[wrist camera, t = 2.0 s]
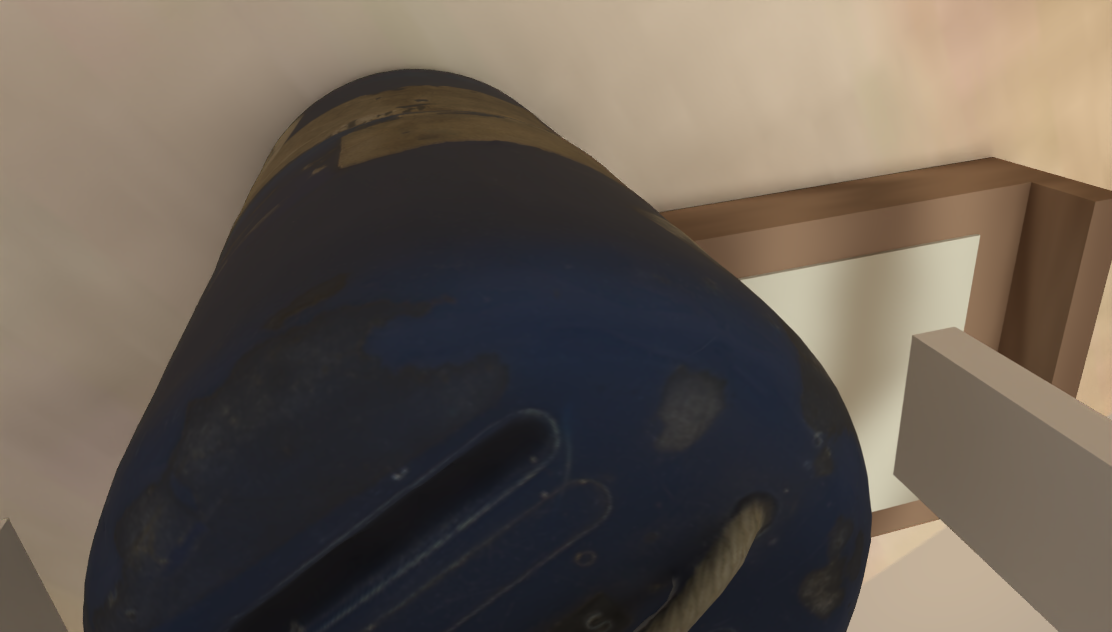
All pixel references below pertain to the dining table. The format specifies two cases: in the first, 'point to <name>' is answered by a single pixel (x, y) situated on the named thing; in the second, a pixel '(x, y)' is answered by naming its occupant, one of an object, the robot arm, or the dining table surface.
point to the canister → (476, 405)
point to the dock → (920, 282)
